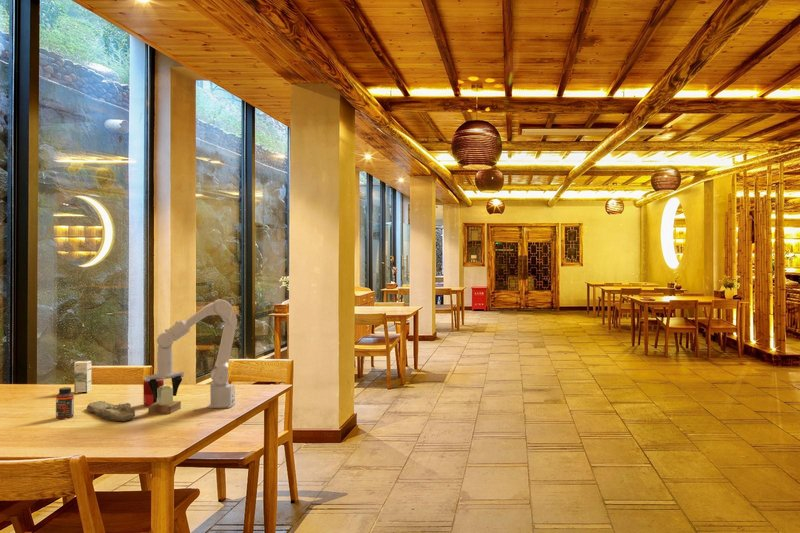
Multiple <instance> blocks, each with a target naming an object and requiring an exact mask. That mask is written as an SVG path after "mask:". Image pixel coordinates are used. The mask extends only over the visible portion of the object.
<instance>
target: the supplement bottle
mask: <svg viewBox="0 0 800 533" xmlns="http://www.w3.org/2000/svg"><path fill="white" fill-rule="evenodd" d="M74 395H75V393H73V392H72V388H71V387H68V386H67V387H60V388H59V389H58V393H57V394H56V396H55V418H56V419H58V420H66V419H65V418H68V419H71V418H73V417H74V413H75V412H74V409H75V408H74V405H75V404H74V402H75V400H74V399H75V396H74Z"/></svg>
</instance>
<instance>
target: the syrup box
mask: <svg viewBox="0 0 800 533" xmlns="http://www.w3.org/2000/svg"><path fill="white" fill-rule="evenodd" d="M73 364H74V367H73V368H74V371H73V373H74V379H73V380H74V387H73V388H74V389H73V390H74V391H73V392H88V391H90V390H91V391H92V360H77V361H75V362H73ZM91 391H90V392H91ZM88 393H89V392H88Z"/></svg>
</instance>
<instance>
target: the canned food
mask: <svg viewBox="0 0 800 533" xmlns="http://www.w3.org/2000/svg"><path fill="white" fill-rule="evenodd" d="M161 378H163V377H161ZM164 380H165V379H159V380H156V381H157V382H158V387H157V389H158V388H159V387H160V386H165V384H164ZM142 386H143V406H145V407H148V406H150V405H152V404H154V403H156V402H157V399H154V398H153V394H152V390H151V388H150V386H149V384H148V382H147V381H146V377H144V378H143V384H142Z"/></svg>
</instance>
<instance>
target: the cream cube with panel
mask: <svg viewBox="0 0 800 533" xmlns="http://www.w3.org/2000/svg"><path fill="white" fill-rule="evenodd" d="M173 401H174V396H173V389H172V387H171V385H164V386H160V387H159V388H158V389H157V404H159V405H168V404H173Z"/></svg>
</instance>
